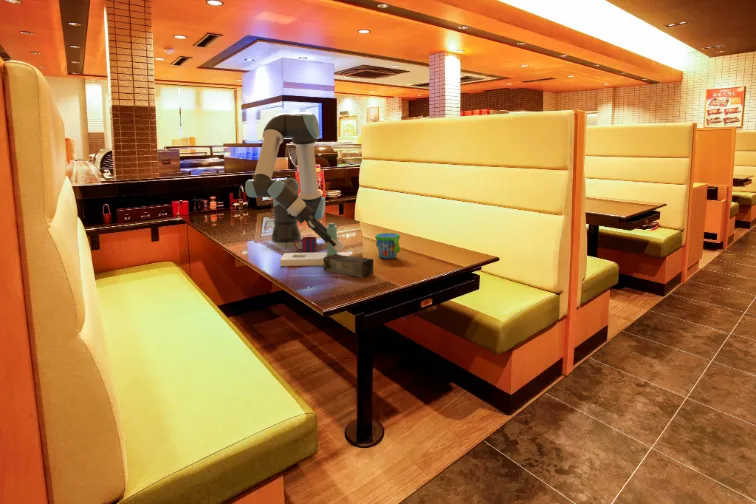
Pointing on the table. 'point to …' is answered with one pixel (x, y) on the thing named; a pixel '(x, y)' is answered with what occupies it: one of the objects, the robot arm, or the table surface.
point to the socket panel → (305, 258)
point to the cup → (308, 244)
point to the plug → (333, 234)
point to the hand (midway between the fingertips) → (341, 248)
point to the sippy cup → (387, 245)
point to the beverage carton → (348, 265)
